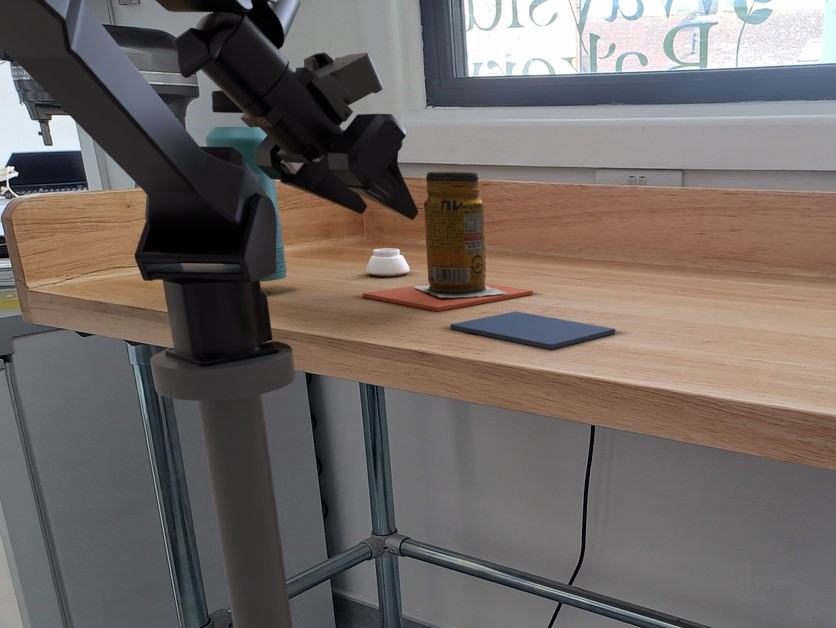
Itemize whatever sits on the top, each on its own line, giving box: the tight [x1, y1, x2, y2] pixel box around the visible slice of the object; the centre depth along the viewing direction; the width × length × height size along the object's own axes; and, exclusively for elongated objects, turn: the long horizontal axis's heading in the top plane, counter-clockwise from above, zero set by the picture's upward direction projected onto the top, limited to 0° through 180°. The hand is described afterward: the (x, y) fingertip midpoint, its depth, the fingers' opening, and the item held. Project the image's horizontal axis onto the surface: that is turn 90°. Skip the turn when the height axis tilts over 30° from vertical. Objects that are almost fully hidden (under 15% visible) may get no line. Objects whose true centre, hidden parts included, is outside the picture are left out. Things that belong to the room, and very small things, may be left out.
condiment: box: [412, 170, 506, 298], centre depth 88 cm, size 7×8×12 cm
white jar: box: [365, 247, 410, 277], centre depth 103 cm, size 5×3×5 cm
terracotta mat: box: [362, 282, 534, 312], centre depth 90 cm, size 13×12×1 cm
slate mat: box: [450, 311, 616, 350], centre depth 73 cm, size 8×12×1 cm, turn 50°
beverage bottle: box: [204, 89, 287, 283], centre depth 88 cm, size 6×7×20 cm
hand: (388, 213), depth 83 cm, fingers open, 9 cm apart
